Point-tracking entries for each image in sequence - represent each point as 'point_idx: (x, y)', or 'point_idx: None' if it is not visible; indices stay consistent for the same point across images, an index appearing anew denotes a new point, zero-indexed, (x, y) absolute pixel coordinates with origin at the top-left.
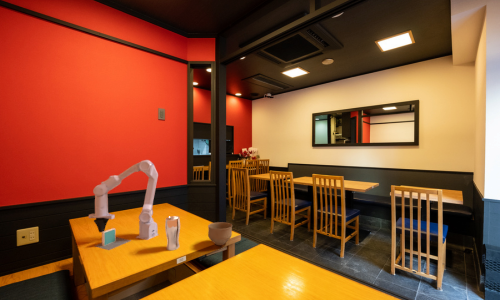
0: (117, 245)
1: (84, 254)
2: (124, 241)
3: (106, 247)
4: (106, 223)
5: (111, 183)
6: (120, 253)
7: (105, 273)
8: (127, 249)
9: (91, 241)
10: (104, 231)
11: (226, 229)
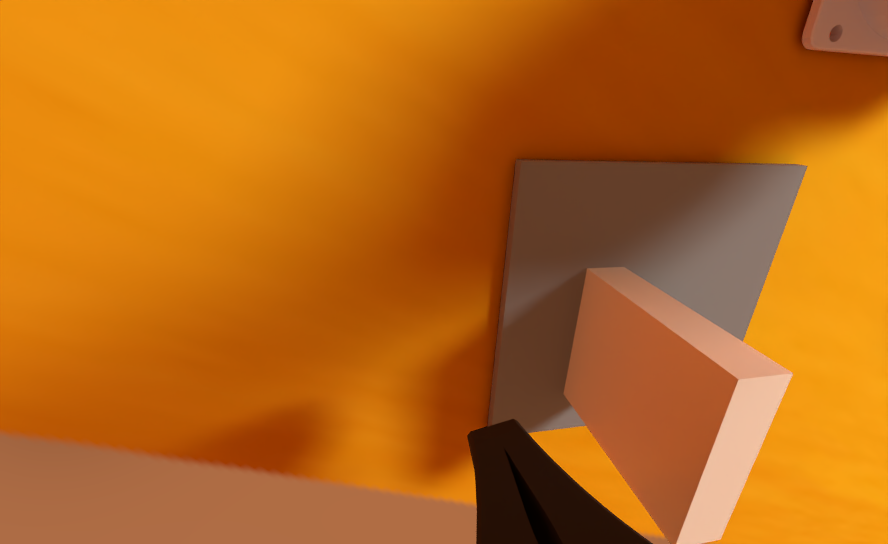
0: (729, 322)
1: None
2: (739, 222)
3: None
4: (637, 537)
5: None
6: (832, 378)
7: (874, 519)
8: (852, 311)
9: (265, 379)
10: (700, 523)
11: None
